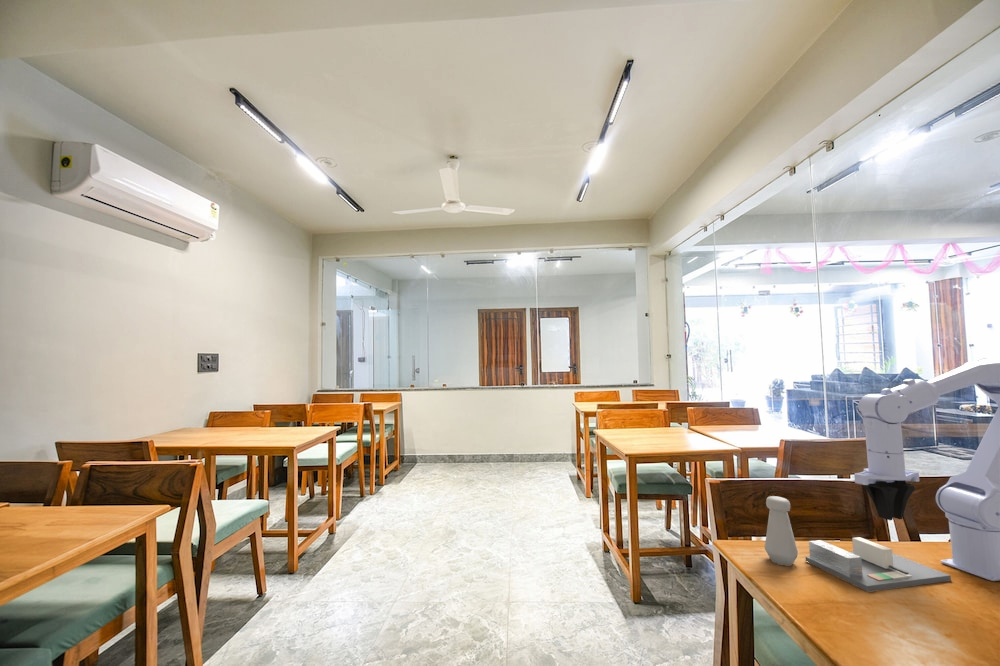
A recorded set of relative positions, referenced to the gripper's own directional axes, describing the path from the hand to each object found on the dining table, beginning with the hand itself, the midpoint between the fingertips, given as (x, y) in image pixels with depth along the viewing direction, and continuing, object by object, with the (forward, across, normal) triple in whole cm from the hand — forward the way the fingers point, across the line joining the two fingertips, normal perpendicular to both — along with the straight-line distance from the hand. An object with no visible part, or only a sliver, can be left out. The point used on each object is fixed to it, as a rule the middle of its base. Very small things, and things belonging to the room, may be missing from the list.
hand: (890, 518), depth 84 cm
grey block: (+9, +15, 0) cm, 18 cm away
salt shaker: (+10, +22, -6) cm, 24 cm away
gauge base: (+9, +6, +1) cm, 11 cm away
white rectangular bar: (+8, +6, +1) cm, 10 cm away
